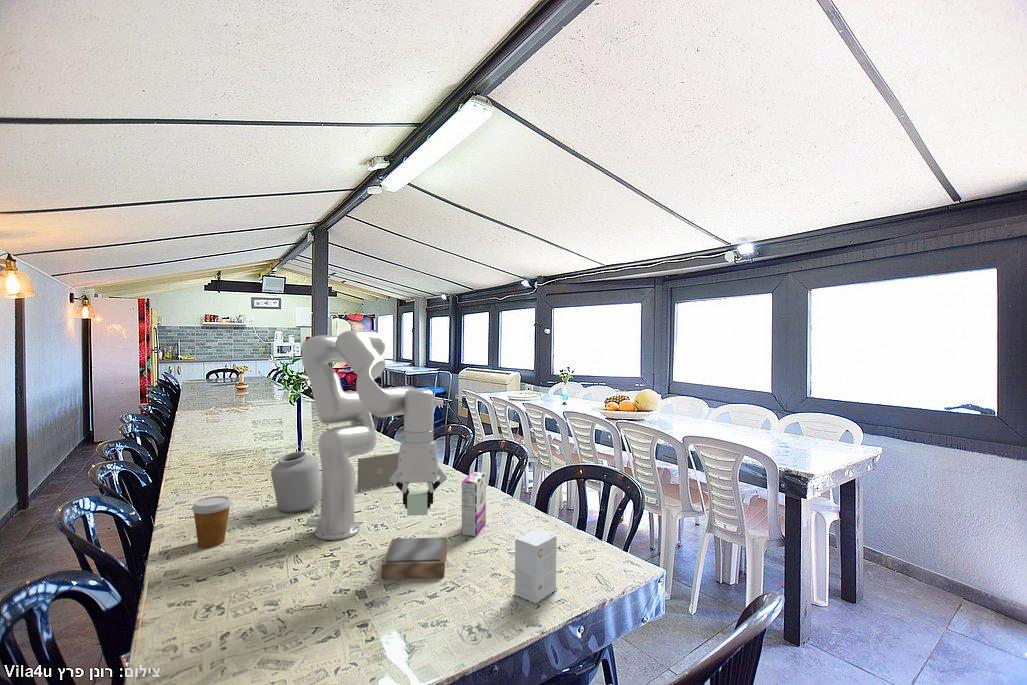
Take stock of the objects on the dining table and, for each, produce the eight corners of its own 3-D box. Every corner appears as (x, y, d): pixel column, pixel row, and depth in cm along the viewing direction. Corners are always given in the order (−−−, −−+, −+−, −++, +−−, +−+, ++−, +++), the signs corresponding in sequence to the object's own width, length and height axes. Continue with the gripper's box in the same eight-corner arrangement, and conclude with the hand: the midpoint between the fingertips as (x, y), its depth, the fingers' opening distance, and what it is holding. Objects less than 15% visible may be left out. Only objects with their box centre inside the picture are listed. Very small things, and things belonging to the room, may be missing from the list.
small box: (535, 581, 114) (536, 528, 114) (556, 590, 110) (557, 535, 110) (513, 594, 108) (514, 538, 108) (535, 605, 104) (536, 546, 104)
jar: (277, 522, 148) (279, 443, 149) (255, 511, 157) (257, 437, 157) (331, 506, 164) (333, 434, 164) (309, 497, 172) (310, 429, 173)
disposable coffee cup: (226, 533, 139) (226, 493, 139) (235, 543, 132) (235, 501, 132) (187, 542, 132) (188, 500, 132) (194, 553, 126) (195, 509, 126)
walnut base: (381, 579, 114) (382, 562, 114) (391, 551, 129) (392, 537, 129) (444, 577, 115) (444, 561, 115) (446, 550, 130) (447, 536, 130)
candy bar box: (471, 522, 151) (471, 471, 151) (486, 523, 150) (486, 472, 150) (460, 535, 140) (461, 480, 140) (476, 537, 139) (477, 482, 139)
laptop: (386, 477, 201) (387, 447, 201) (400, 484, 191) (401, 452, 191) (345, 485, 189) (345, 452, 189) (357, 492, 179) (358, 458, 179)
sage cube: (407, 515, 119) (407, 495, 119) (409, 508, 124) (409, 489, 124) (426, 515, 120) (427, 495, 120) (428, 508, 125) (428, 489, 125)
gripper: (382, 440, 117) (382, 512, 117) (451, 439, 119) (450, 511, 119) (388, 434, 125) (387, 502, 125) (452, 433, 127) (451, 501, 126)
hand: (418, 506), depth 122 cm, fingers closed on sage cube, 5 cm apart
